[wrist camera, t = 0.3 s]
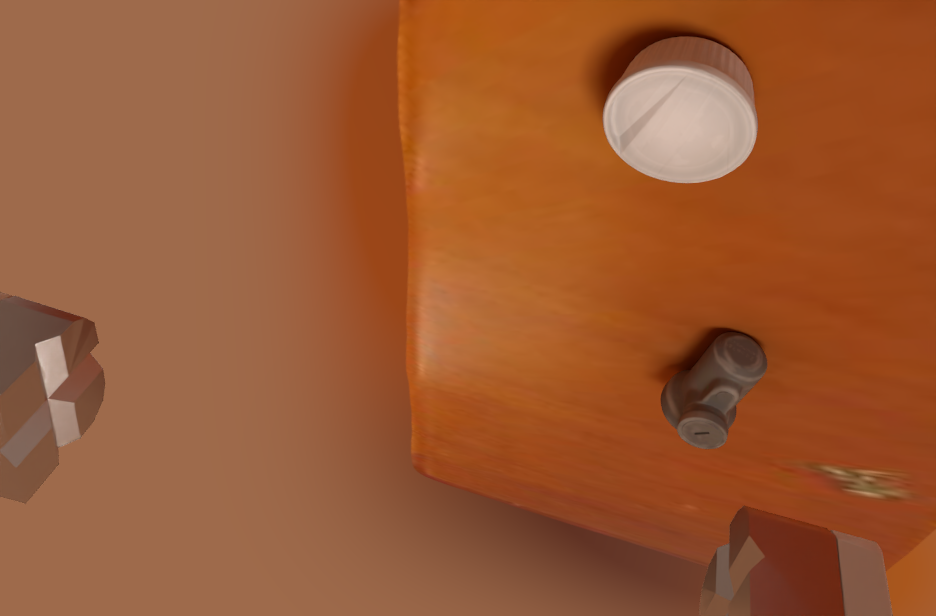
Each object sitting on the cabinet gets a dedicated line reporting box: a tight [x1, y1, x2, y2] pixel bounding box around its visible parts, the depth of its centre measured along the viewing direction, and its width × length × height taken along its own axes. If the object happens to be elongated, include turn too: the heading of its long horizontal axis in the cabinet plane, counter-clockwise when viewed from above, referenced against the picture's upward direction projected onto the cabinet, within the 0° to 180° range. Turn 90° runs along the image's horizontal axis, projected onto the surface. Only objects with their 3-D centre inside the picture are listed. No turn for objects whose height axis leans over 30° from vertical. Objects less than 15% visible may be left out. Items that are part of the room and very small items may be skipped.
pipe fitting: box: [661, 332, 767, 449], centre depth 92 cm, size 12×8×10 cm
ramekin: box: [603, 36, 758, 183], centre depth 66 cm, size 11×11×5 cm
